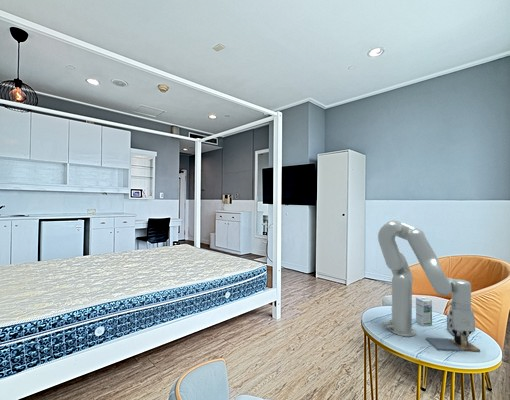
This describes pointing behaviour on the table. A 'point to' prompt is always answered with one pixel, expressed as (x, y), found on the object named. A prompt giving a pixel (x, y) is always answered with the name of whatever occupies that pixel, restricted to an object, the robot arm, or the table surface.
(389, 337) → the table surface
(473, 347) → the stub
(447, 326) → the medicine box
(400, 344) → the table surface
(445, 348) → the plate
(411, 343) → the table surface
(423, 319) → the syrup box
